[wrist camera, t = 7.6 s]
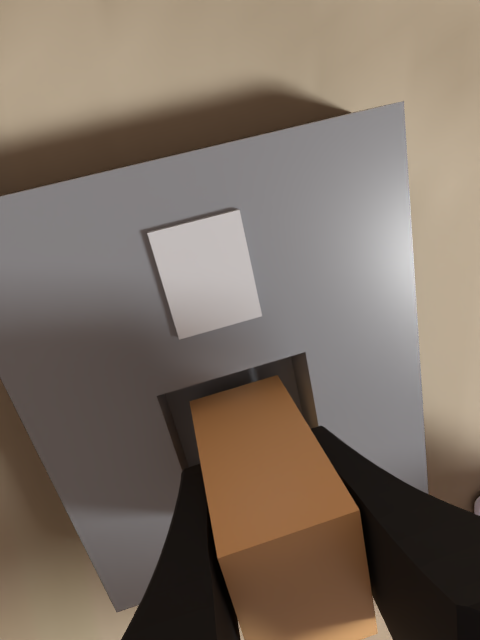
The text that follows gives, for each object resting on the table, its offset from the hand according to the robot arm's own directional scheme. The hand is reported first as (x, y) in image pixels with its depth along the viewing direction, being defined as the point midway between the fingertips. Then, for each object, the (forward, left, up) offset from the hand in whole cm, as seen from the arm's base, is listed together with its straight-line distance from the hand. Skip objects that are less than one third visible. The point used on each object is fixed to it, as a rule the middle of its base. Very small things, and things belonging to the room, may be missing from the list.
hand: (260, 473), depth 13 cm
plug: (0, 0, -2) cm, 2 cm away
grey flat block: (0, -2, -4) cm, 5 cm away
